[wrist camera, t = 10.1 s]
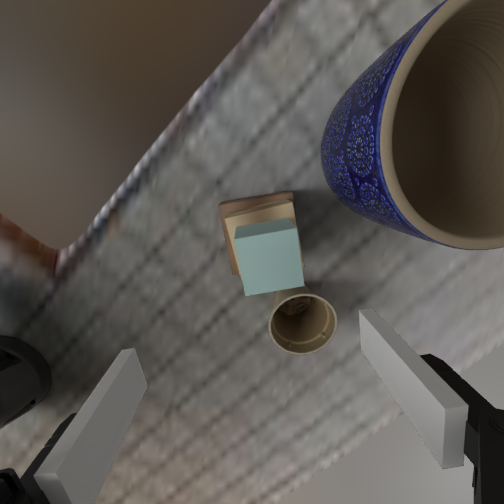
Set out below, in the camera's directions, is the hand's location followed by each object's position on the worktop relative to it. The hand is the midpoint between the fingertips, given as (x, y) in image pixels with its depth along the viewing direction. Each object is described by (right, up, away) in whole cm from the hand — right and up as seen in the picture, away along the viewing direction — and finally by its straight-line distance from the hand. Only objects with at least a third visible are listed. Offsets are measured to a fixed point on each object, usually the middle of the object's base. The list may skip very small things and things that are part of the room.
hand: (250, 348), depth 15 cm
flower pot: (+7, -2, +29) cm, 30 cm away
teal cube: (+2, +6, +16) cm, 17 cm away
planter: (+17, +20, +23) cm, 35 cm away
